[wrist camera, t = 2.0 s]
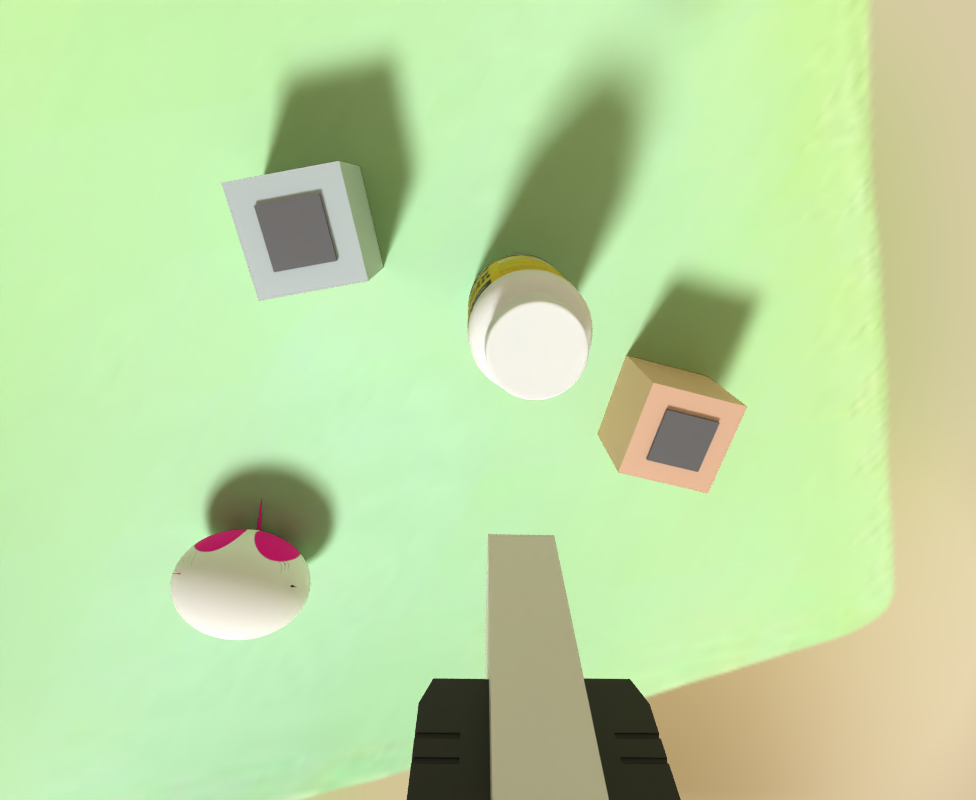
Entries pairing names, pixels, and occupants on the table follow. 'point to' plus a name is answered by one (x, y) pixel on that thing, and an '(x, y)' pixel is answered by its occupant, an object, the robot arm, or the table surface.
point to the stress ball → (240, 584)
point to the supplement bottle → (528, 327)
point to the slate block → (305, 229)
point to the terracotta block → (669, 424)
